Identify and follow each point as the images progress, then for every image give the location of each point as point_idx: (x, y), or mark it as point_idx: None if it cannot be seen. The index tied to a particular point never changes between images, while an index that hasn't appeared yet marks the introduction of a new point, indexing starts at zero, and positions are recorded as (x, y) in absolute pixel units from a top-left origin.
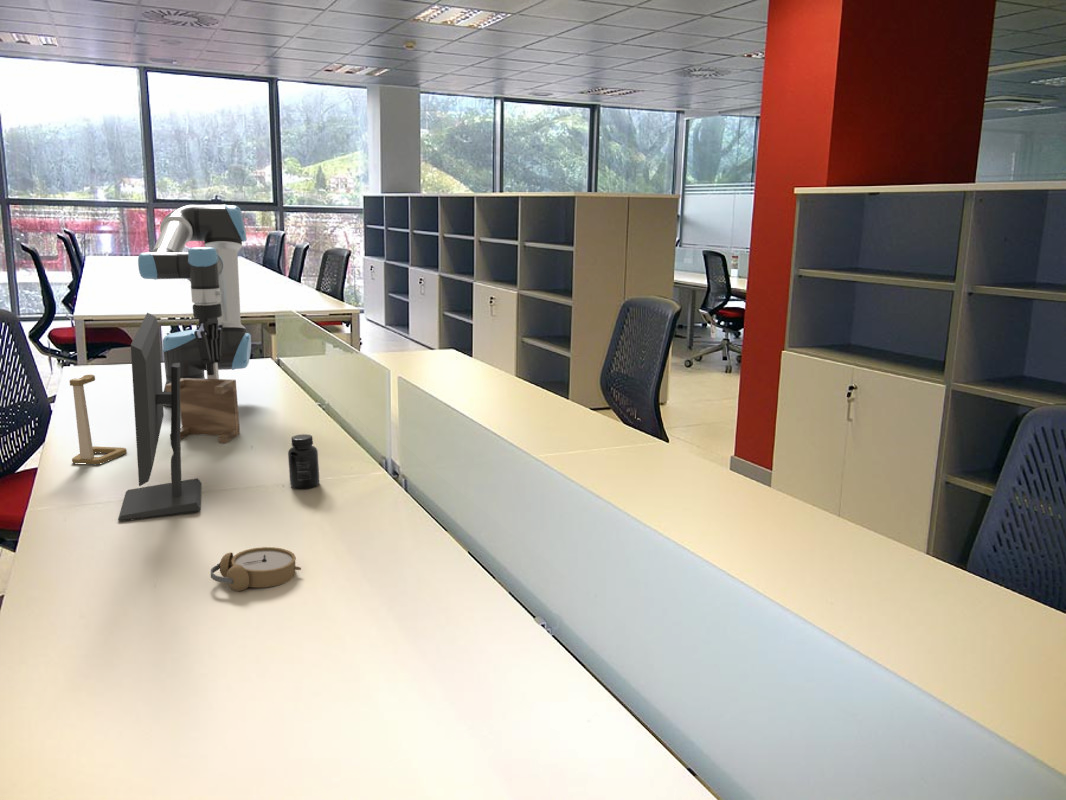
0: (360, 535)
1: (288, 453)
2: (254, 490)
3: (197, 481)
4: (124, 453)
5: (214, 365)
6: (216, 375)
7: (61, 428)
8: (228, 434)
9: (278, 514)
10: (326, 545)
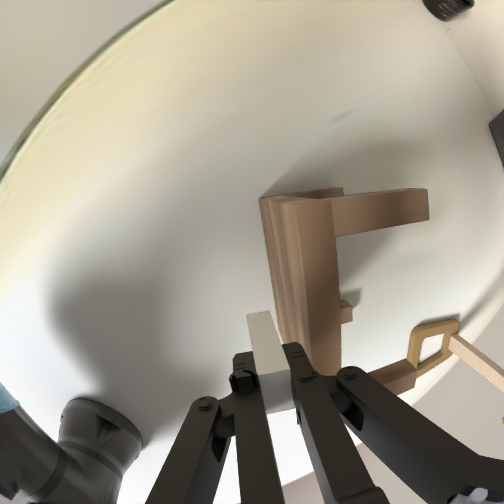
0: None
1: (472, 6)
2: (470, 58)
3: (502, 121)
4: (420, 326)
5: (287, 366)
6: (274, 332)
7: (302, 473)
8: (327, 189)
9: (485, 31)
10: (489, 3)
